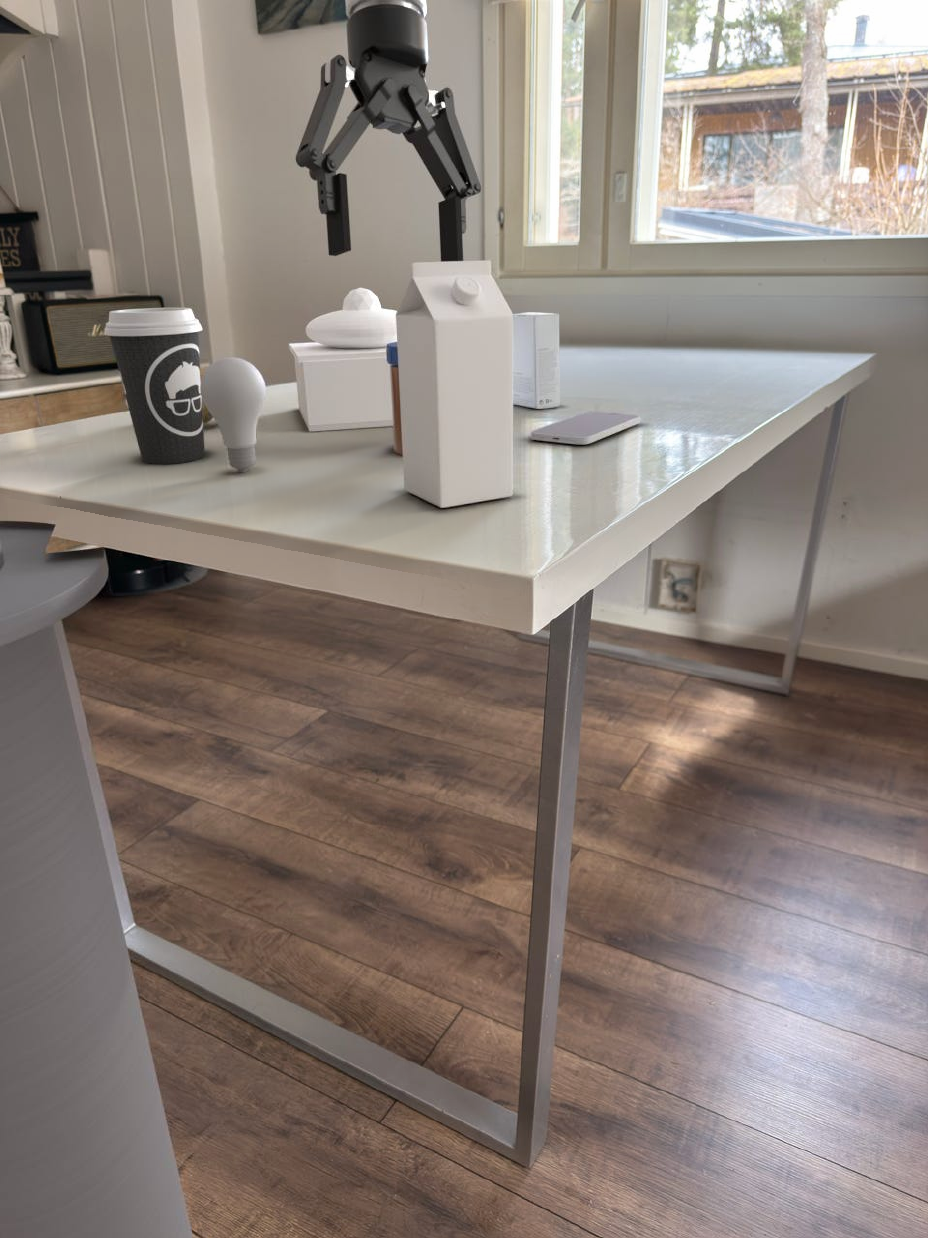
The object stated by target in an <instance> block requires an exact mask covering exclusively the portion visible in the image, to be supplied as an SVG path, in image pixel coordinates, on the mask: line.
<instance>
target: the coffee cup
mask: <svg viewBox="0 0 928 1238" xmlns="http://www.w3.org/2000/svg"><path fill="white" fill-rule="evenodd" d="M201 331H203V327H202V323H200V321H199V319H198V318H196V317H195V314H194V311H193V309H192V308H191V307H149V308H147V307H146V308H131V309H130V308H127V309H116V310H111V311H109V313H108V322H106V323H105V327H104V332H103V333H104V336H108V337H109V339H110V343H111V347H112V349H113V353H114V359H115V361H116V366H117V369H118V372H119V376H120V377H119V378H120V380H121V385H122V388H123V391H124V396H125V399H126V403H127V407H128V411H129V415H130V419H131V422H132V426H133V430H134V434H135V438H136V442H137V445H138V450H139V453H140V458H141V461H142V462H144V463H147V464H154V465H170V464H172V465H173V464H180V463H181V464H182V463H188V462H192V461H196V460H199V459H202V458H203V457H205V451H206V449H205V436H204V435H205V433H204V423H203V413H202V396H201V391H200V385H201V376H200V366H201V359H200V338H199V337H200V334H199V332H201Z"/></svg>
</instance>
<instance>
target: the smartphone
mask: <svg viewBox="0 0 928 1238" xmlns="http://www.w3.org/2000/svg"><path fill="white" fill-rule="evenodd" d="M640 423H641V415H639V414H634V413H622V412H612V411H611V412H610V411H598V410H589V411H584V412H581V413H579V414H575V415H573V416H570V417H567V418H564V419H561V420H559V421H558V420H557V421H556V422H553V423H550V424H547V425H544V426H542V427H538V428H536V429H533V430H531V431H530V439H531V440H534V441H535V440H536V441H543V442H551V443H561V444H571V445H579V446H580V445H588V444H592V443H595V442H598V441H599V440H601V439H604V438H607V437H609V436H611V435H614V434H617V433H619V432H621V431H623V430H626V429H628V428H630V427H633V426H635V425H638V424H640Z"/></svg>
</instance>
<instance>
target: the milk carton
mask: <svg viewBox="0 0 928 1238" xmlns="http://www.w3.org/2000/svg"><path fill="white" fill-rule="evenodd" d="M410 263H411V267H410V268H411V278H410V281H409V283H408V286H407V287H406V289H405V292H404V294H403V297H402V299H401V301H400V304H399V306H398V309H397V310H396V311H397V313H396V328H397V349H398V369H399V389H400V409H401V429H402V449H403V455H402V465H403V483H404V484H403V485H404V486H403V487H404V491H406V492H407V493H410V494H412V495H414V496H416V497H418V498H420V499H422V500H424V501H426V502H428V503H430V504H431V505H434V506H437V507H439V508H440V509H443V508H444V509H445V508H451V507H456V506H463V505H467V504H469V505H470V504H475V503H479V502H485V501H492V500H498V499H504V498H510V497H512V496H513V494H514V436H513V435H514V404H513V314H514V313H513V311H512V309H511V308H510V306H509V304H508V302H507V301H506V299H505V297H504V295H503V293H502V292H501V289H500V288H499V286H498V284H497V282H496V281H495V278H494V277H493V275H492V261H491V260H490V259H487V260H486V259H485V260H463V261H449V262H441V261H421V262H420V261H419V262H418V261H417V262H416V261H415V262H414V261H413V262H410Z"/></svg>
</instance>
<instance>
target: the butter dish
mask: <svg viewBox="0 0 928 1238" xmlns="http://www.w3.org/2000/svg"><path fill="white" fill-rule="evenodd" d="M396 313H397V310H394V309H388V308H382V306H381V303H380V301H379V296H377V295H376V294H375V293H374V292H373V291H372V290H370V289H367V288H364V287H357V288H355V289H351V290H350V291H349V292H348V293H347V294H346V296H345V298H344V299H343V303H342V309H340V310H334V311H331V312H328V313H325V314H322V315H319V316H317V317H315V318H314V319H312V320H310V321H309V322H308V324H307V325H306V327H305V334H306V336H307V337H308V338H309V339H310V340H312V342H295V343H294V342H293V343H288V350H289V351H290V353H291V355H292V356H293V361H294V371H295V379H296V391H297V401H298V410H299V412H300V415H301V417H302V419H303V421H304V423H305V425H306V427H307V430H308V432H310V433H311V432H322V431H336V430H339V431H340V430H353V429H367V428H381V427H393V418H392V400H391V381H390V364H388V362H387V355H386V349H387V344H389V343H393V342H397V328H396Z"/></svg>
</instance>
